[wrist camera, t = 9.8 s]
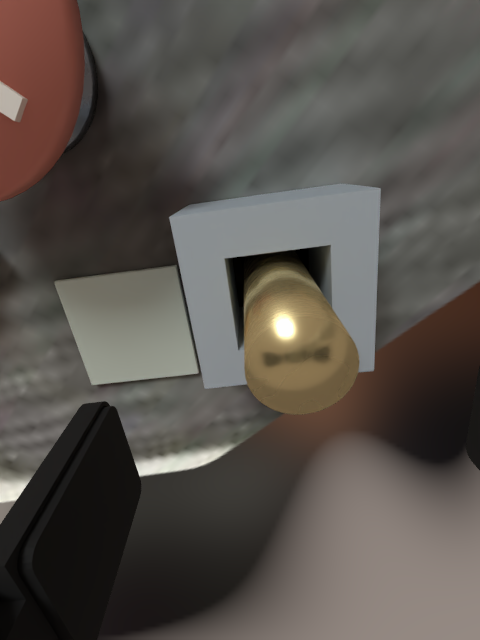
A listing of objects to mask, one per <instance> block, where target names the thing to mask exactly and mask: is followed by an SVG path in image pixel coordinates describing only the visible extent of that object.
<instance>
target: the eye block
mask: <svg viewBox="0 0 480 640" xmlns="http://www.w3.org/2000/svg"><path fill="white" fill-rule="evenodd" d="M380 192H381V188H375V187H367V186H359V185H350V184H342V183H341V184H334V185H327V186H320V187H312V188H305V189H298V190H291V191H284V192H276V193H269V194H262V195H255V196H248V197H240V198H233V199H226V200H219V201H212V202H204V203H197V204H190V205H188V206H186V207H185V208H183V209H181V210H180V211H178V212H177V213H175V214H173V215H172V216H170V217H169V219H170V224H171V229H172V233H173V238H174V243H175V248H176V252H177V257H178V262H179V267H180V272H181V276H182V281H183V286H184V291H185V296H186V300H187V305H188V310H189V315H190V320H191V324H192V329H193V334H194V339H195V343H196V348H197V353H198V358H199V363H200V367H201V372H202V377H203V382H204V387H205V389H207V388H216V387H226V386H235V385H245V384H247V382H246V378H245V369H244V307H239V301H238V294H237V287H236V280H235V273H234V266H233V259H232V258H233V257H241V256H248V255H256V254H264V253H272V252H280V251H287V250H295V249H303V248H308V254H309V274H310V275H311V277H312V278H313V280H314V281H315V283H316V284H317V286H318V287H319V289H320V290H321V292H322V293H323V295H324V297H325V298H326V300H327V301H328V303H329V304H330V306H331V307H332V309H333V310H334V312H335V313H336V315H337V316H338V318H339V319H340V321H341V322H342V324H343V326H344V327H345V329H346V330H347V332H348V333H349V335H350V336H351V338H352V339H353V341H354V343H355V345H356V347H357V350H358V354H359V370H358V372H368V371H374V358H375V330H376V302H377V275H378V247H379V219H380Z"/></svg>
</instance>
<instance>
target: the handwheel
mask: <svg viewBox="0 0 480 640" xmlns="http://www.w3.org/2000/svg"><path fill="white" fill-rule="evenodd" d="M84 71H85V58H84V38H83V31H82V25H81V18H80V11H79V7H78V3H77V0H0V202H1V201H4V200H7V199H10V198H12V197H14V196H16V195H18V194H20V193H22V192H24V191H26V190H28V189H29V188H30V187H32V186H33V185H34V184H36V183H37V182H39V181H40V180H41V179H42V178H43V177H44V176H45V175H46V174H47V173H48V172H49V171H50V170H51V169H52V168H53V166H54V165H55V163H56V162H57V161H58V159H59V158H60V156H61V155H62V153H63V152H64V150H65V148H66V146H67V144H68V142H69V140H70V138H71V136H72V133H73V130H74V127H75V124H76V121H77V118H78V115H79V111H80V105H81V100H82V95H83V86H84Z"/></svg>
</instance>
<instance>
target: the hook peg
mask: <svg viewBox="0 0 480 640" xmlns="http://www.w3.org/2000/svg"><path fill="white" fill-rule="evenodd" d="M243 273H244V369H245V378H246V382H247V384H248V387H249V389H250V390H251V392H252V393H253V395H254V396H255V397H256V398H257V399H258V400H259V401H260V402H261V403H263V404H264V405H265V406H267V407H269V408H271V409H273V410H276V411H278V412H282V413H287V414H297V415H298V414H309V413H314V412H318V411H321V410H324V409H326V408H328V407H330V406H331V405H333V404H335V403H336V402H338V401H339V400H340V399H342V398H343V397H344V396H345V395H346V394H347V392H348V391H349V390H350V389H351V387H352V385H353V384H354V382H355V380H356V377H357V374H358V370H359V354H358V350H357V347H356V345H355V343H354V341H353V339H352V338H351V336H350V335H349V333H348V332H347V330H346V329H345V327H344V326H343V324H342V322H341V321H340V319H339V318H338V316H337V315H336V313H335V312H334V310H333V309H332V307H331V306H330V304H329V303H328V301H327V300H326V298H325V297H324V295H323V293H322V292H321V290H320V289H319V287H318V286H317V284H316V283H315V281H314V280H313V278H312V277H311V275H310V274H309V272H308V271H307V269H306V268H305V266H304V264H303V263H302V261H301V260H300V258H299V257H298V255H297V254H296V252H295V251H294V250H287V251H280V252H272V253H264V254H256V255H248V256H246V258H245V261H244V268H243Z"/></svg>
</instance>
